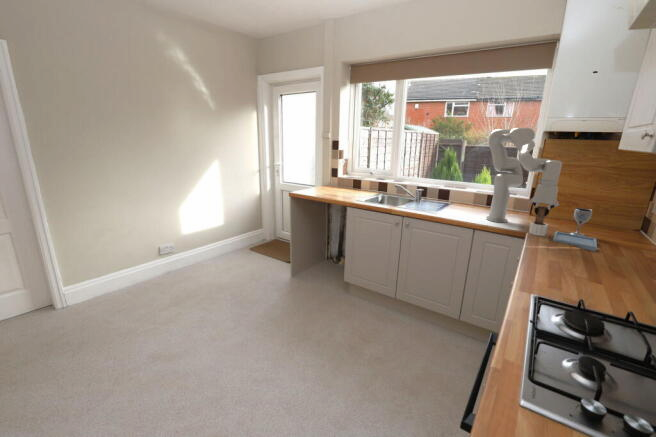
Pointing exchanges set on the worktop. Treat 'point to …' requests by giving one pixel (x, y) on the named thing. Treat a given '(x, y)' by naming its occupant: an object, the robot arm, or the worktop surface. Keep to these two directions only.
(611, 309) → the worktop surface
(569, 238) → the tray
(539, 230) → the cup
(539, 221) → the dowel
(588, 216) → the wine glass
